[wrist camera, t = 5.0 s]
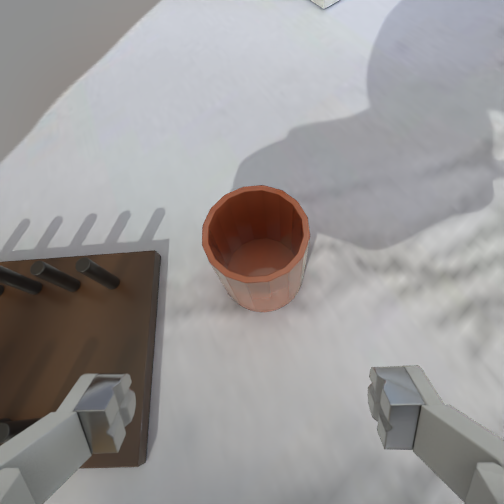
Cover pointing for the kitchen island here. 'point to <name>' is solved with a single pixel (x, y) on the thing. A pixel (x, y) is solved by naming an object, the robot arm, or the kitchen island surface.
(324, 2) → the milk carton
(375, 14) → the kitchen island surface
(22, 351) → the rack
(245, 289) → the cup
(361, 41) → the kitchen island surface
